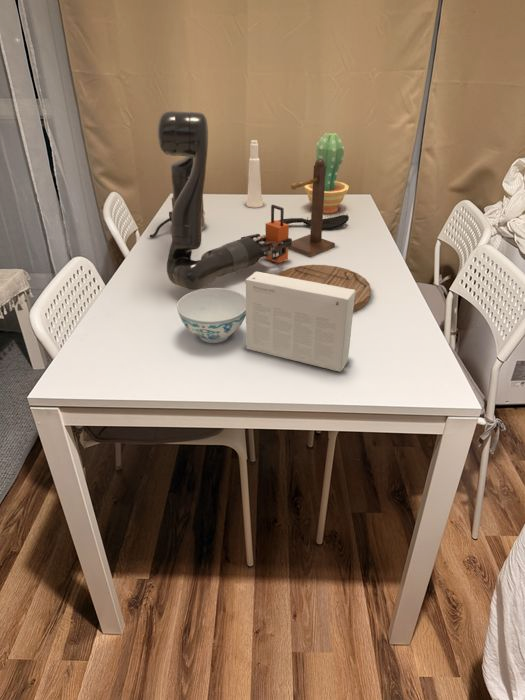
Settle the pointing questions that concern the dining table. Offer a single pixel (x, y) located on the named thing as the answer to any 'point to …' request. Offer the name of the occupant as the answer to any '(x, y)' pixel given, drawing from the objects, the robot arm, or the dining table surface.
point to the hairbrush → (326, 224)
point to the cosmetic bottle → (254, 178)
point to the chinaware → (212, 313)
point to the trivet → (333, 280)
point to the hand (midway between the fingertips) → (283, 239)
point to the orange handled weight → (277, 232)
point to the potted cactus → (330, 172)
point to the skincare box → (299, 320)
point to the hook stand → (314, 215)
